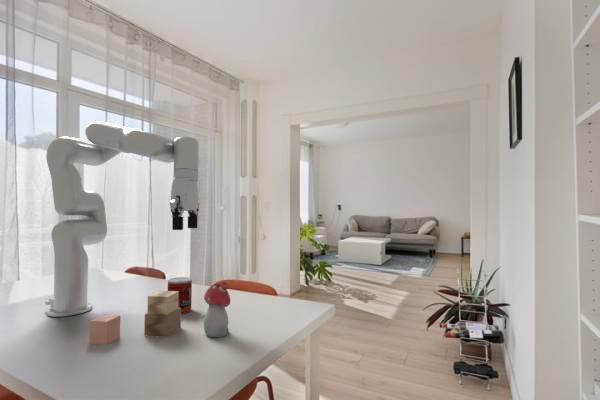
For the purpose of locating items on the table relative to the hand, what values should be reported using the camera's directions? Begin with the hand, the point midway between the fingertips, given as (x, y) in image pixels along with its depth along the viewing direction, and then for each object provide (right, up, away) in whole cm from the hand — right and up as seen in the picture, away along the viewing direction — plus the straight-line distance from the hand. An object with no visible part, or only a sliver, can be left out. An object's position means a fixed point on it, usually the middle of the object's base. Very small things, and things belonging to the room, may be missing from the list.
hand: (185, 228), depth 102 cm
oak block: (-3, -23, -10) cm, 25 cm away
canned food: (-5, -30, +8) cm, 31 cm away
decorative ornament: (+13, -29, -11) cm, 34 cm away
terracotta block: (-16, -29, -16) cm, 37 cm away
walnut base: (-3, -29, -10) cm, 31 cm away
